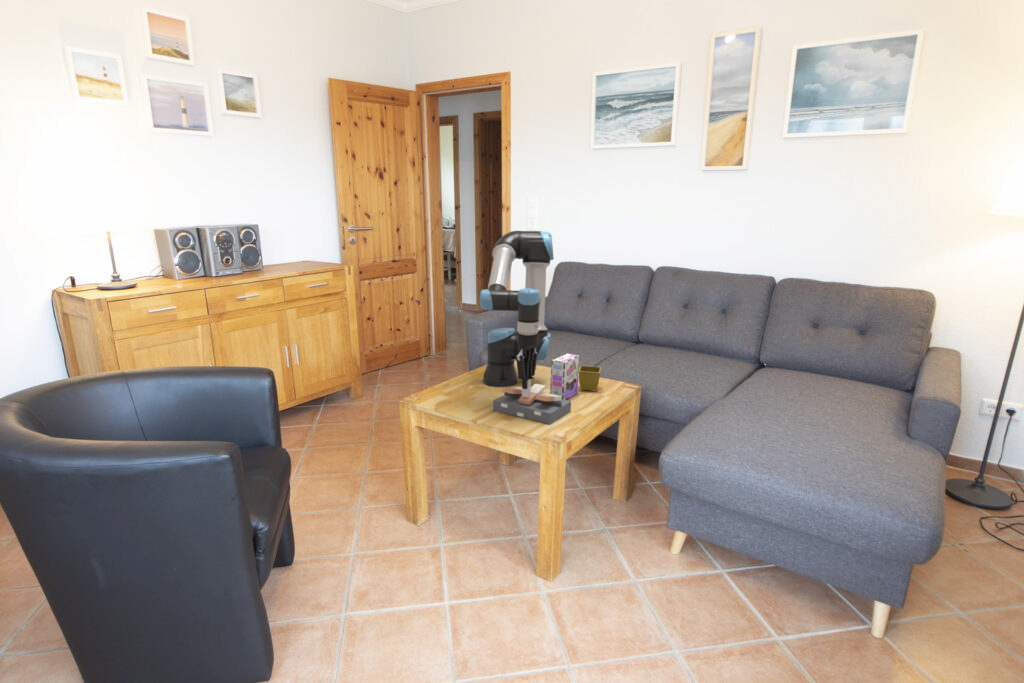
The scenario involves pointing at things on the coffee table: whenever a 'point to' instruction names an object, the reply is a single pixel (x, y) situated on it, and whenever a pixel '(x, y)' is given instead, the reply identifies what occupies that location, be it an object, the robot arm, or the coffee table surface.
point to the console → (532, 408)
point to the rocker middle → (532, 394)
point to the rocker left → (512, 390)
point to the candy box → (565, 376)
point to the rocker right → (548, 397)
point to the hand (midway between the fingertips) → (526, 396)
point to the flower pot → (589, 377)
